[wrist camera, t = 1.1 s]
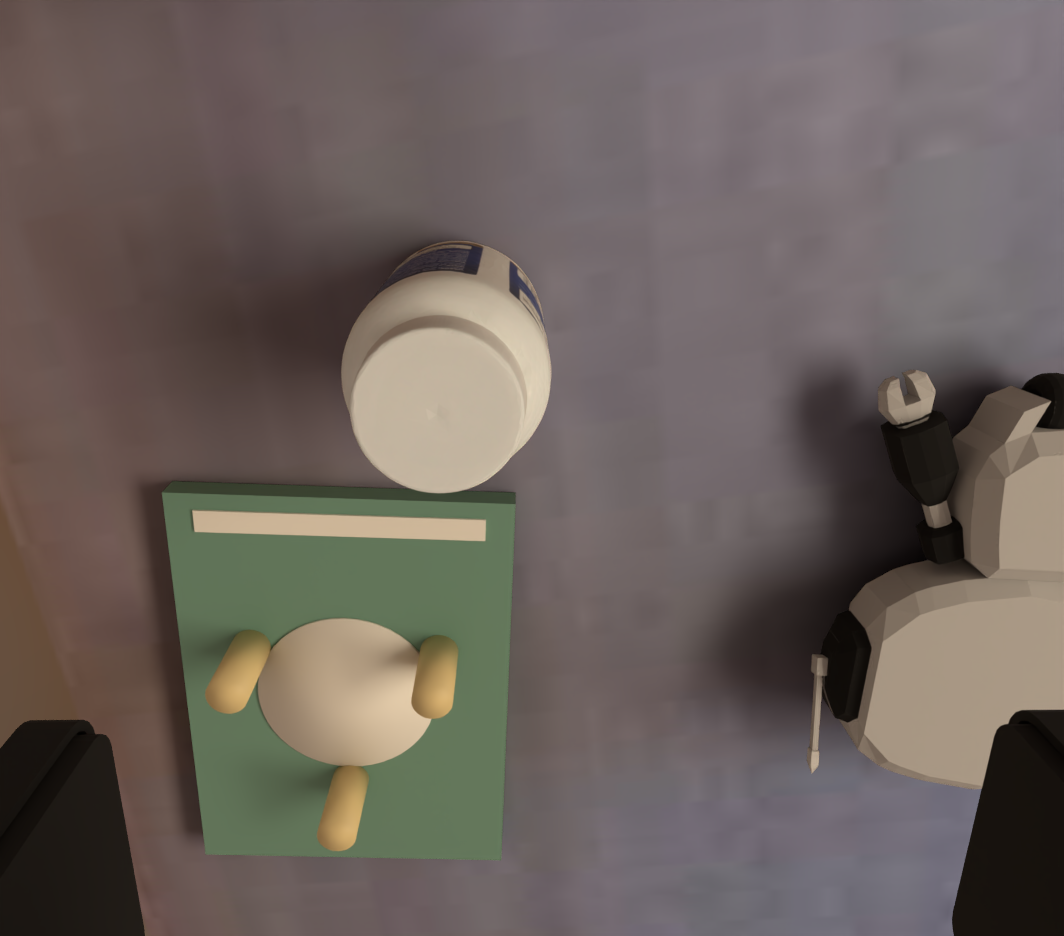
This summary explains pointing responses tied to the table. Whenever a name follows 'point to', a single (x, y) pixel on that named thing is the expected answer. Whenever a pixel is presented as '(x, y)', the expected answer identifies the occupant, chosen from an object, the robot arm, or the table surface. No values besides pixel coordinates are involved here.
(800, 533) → the table surface
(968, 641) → the robot toy
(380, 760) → the board
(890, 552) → the table surface
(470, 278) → the pill bottle
